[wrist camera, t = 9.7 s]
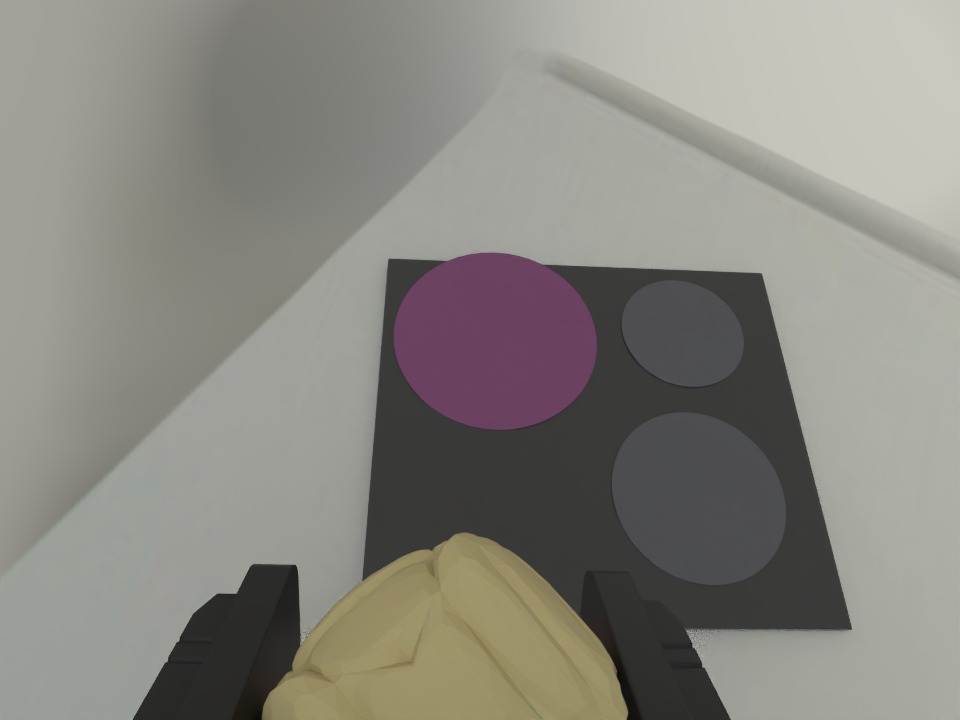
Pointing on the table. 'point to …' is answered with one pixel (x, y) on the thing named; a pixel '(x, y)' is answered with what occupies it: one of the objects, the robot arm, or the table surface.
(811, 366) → the table surface
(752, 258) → the table surface
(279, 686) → the toy
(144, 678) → the table surface
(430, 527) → the hob
